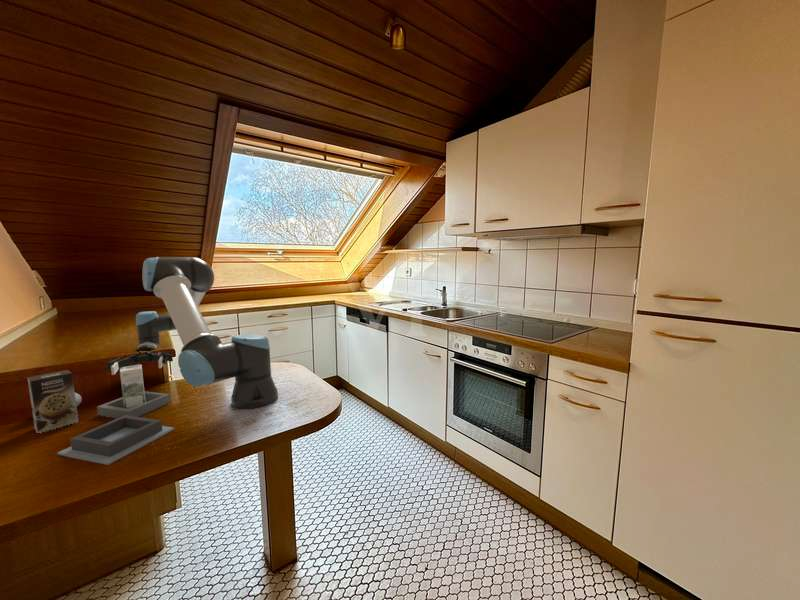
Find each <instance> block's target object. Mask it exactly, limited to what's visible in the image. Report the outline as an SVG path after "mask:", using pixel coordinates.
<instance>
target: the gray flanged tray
mask: <svg viewBox="0 0 800 600" xmlns="http://www.w3.org/2000/svg"><path fill="white" fill-rule="evenodd" d="M174 430H175V427H172V426H165V425H163V424H162V419H154V418H150V417H149V418H147V417H141V416H139V417H136V416H129V415H124V416H122V417H120V418H117V419H116V418H114V419H113V420H111V421H108V422H107V423H104V424H101V425H99V426H96V427H94V428H92V429H89V430H87V431H85V432H82V433H80V434H78V435H76V436H73V437H71V438H69V439H70V446H69V447H67V448H64V449H62V450H60V451H57V456H62V457H66V458H72V459H77V460H80V461H81V460H82V461H87V462H92V463H96V464H100V465H105V466H106V465H107V466H109V465H110V464H113V463H114V462H116V461H119V460H120V459H123V458H124V457H126V456H127V455H129V454H131V453H133V452H135V451H136V450H139V449H141V448H143V447H144V446H146V445H148V444H150V443H151V442H154V441H155V440H157V439H159V438H161V437H163V436H165V435H167V434H168V433H170V432H172V431H174Z"/></svg>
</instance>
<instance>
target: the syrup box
mask: <svg viewBox="0 0 800 600" xmlns="http://www.w3.org/2000/svg"><path fill="white" fill-rule="evenodd" d="M119 376H120V384H121V393H122V397H123V401H124V407H123V408H127V409H131V408H134V407H136V406H138V405H141V404H143V403H146V402H147V401H146V400H145V392H144V391H145V386H144V376H143V364H134V365H127V366H124V367H121V368H119Z"/></svg>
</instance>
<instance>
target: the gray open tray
mask: <svg viewBox="0 0 800 600" xmlns="http://www.w3.org/2000/svg"><path fill="white" fill-rule="evenodd" d="M144 392H145V400H146V403H143V404H141V405H138V406H136V407H134V408H131V409H127V408H124V401H123V396H122V397H119V398H116V399H114V400H111V401H109V402H105V403H103V404H100V405H97V407H96V409H97V416H98V415H100V416H99V417H104V416H105V418H110V417H111V419H117V418H120V417H122V416H124V415H129V416H136V417H141V416H144V415H145V414H147V413H150V412H153V411H154V410H157V409H159V408H161V407H163V406H166V405H169V404H170V403H172V401H171V400H172V399H171V393H164V392H157V391H156V392H154V391H146V390H144Z"/></svg>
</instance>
